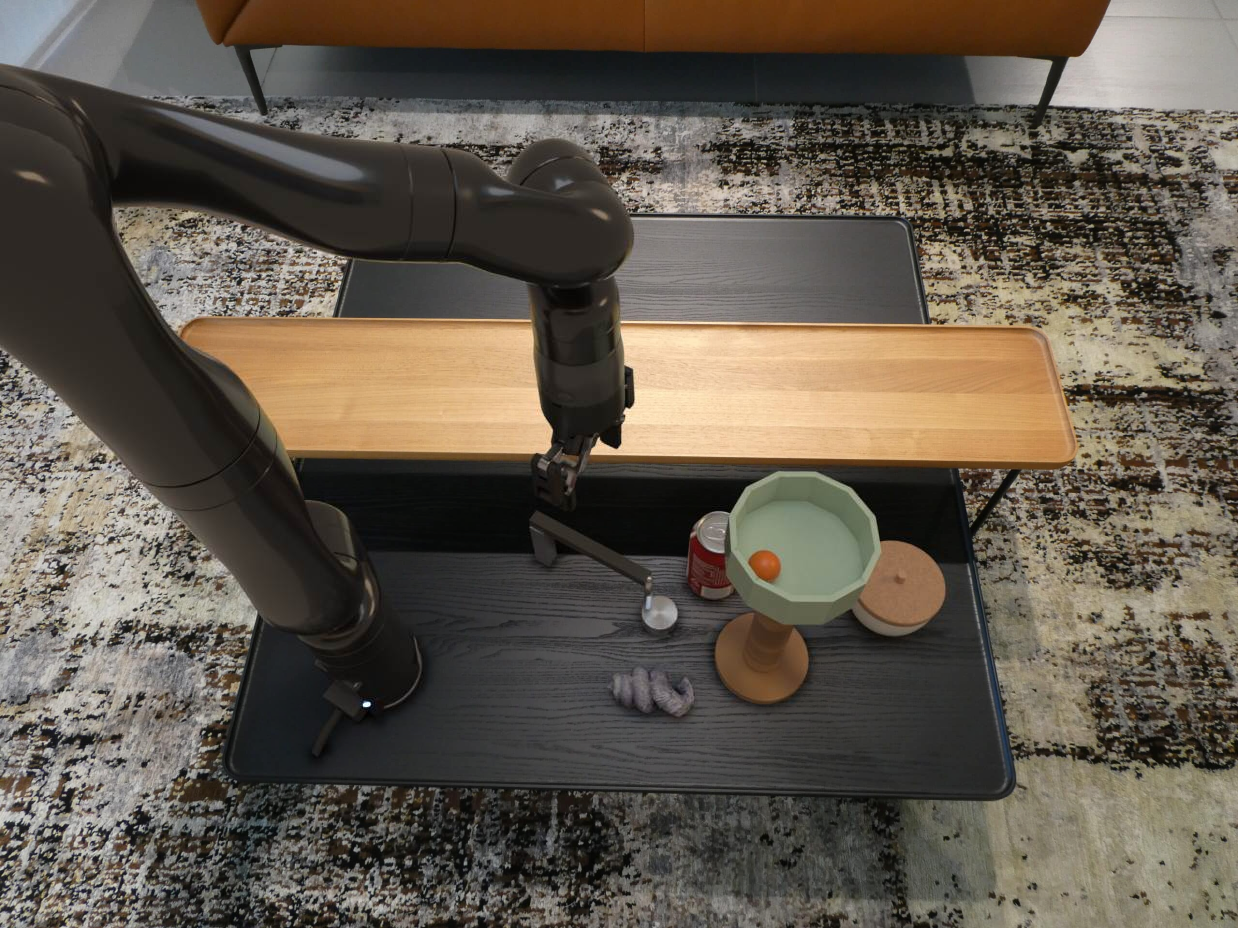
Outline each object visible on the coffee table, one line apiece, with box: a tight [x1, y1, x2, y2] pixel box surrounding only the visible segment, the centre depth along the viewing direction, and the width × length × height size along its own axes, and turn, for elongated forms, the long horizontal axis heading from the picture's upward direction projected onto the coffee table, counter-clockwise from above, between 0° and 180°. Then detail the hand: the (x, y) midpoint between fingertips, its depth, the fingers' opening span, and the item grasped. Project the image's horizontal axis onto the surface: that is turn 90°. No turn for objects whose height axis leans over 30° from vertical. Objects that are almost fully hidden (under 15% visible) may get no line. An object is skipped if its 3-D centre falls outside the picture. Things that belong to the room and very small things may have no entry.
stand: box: [714, 610, 810, 705], centre depth 90 cm, size 11×11×26 cm
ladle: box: [528, 509, 679, 636], centre depth 102 cm, size 20×4×10 cm, turn 59°
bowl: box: [724, 470, 882, 626], centre depth 77 cm, size 13×13×5 cm
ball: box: [748, 550, 781, 583], centre depth 76 cm, size 3×3×3 cm
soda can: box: [685, 510, 737, 601], centre depth 102 cm, size 7×7×12 cm
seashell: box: [607, 664, 695, 718], centre depth 96 cm, size 5×5×10 cm
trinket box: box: [850, 540, 946, 637], centre depth 100 cm, size 11×11×9 cm
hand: (588, 473), depth 85 cm, fingers open, 8 cm apart
